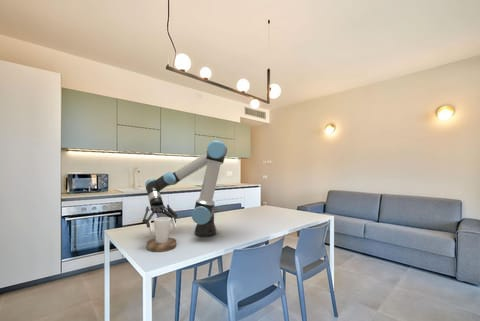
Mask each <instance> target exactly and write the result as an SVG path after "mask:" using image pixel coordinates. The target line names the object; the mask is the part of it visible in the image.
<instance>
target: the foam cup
mask: <svg viewBox="0 0 480 321" xmlns="http://www.w3.org/2000/svg"><path fill="white" fill-rule="evenodd" d="M153 225H154V226H153V227H154V235H155V239H156V243H166V242H167V241H168V238H169V234H170V230H171V225H172V222H171V218H169V217H168V216H160V217H156V218H154V219H153Z"/></svg>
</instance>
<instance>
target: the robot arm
mask: <svg viewBox="0 0 480 321" xmlns="http://www.w3.org/2000/svg"><path fill="white" fill-rule="evenodd" d="M227 154H228V148H227V146H226V145H225V143H224V142H223V141H221V140H217V139H216V140H212V141H211V142H209V143H208V145H207V148H206V152H205V153H203V155H200V156H199V157H197V158H195V159H193V160H192V161H191V162H189V163H186V164H185V165H184V166H182V167H180V168H179V169H177V170H175V171H174V172H171V171H168V172H166V173H164V174H163V175H162V176H159V178H157V179H155V178H151V179H148V180H146V181H145V183H144V184H145V190H146V193H147V197H148V202H149V206H150V207H149V206H148V205H147V206H146V208H145V213H144V216H143V218H142V223H145V224H146V228H148V230H149V233H150V234H152V233H153V231H154V230H153V225H152V221H151V219H152V218H153V216H154V215H155V214H156V215H157V214H163V215H165V217H169V218H171V225H172V228H173V230H176V229H177V224H176V223H177V220H176V219H177V218H178V214H177V213H176V212H175V211H174V210H173V209H172V207H170V205H169V204H167V205H164V201H163V198H162V195H161V192H160V191H162V190H164V189H166V188H167V187H169V186H175V185H178V183H179V182H180V181H182V180H185V179H186V178H187V177H189V176H191V175H192V174H194V173H196V172H198V171H199V170H201V169H203V168H205V167H206V168H205V172H204V176H203V181H202V185H201V190H200V194H199V198H198V199H196V201H195V205H194V208H193V210H191V211H192V212H191V219H192V221H193V222H194V223H195V224H196V226H195V229H194V235H195V236H196V237H201V238H202V237H204V238H205V237H213V236H215V235H216V234H217V228H216V225H215V206H216V205H215V201H213V199H214V194H215V191H216V187H217V181H218V178H219V173H220V168H221V165H223V164H224V162H225V157H226V155H227ZM150 211H151V212H150ZM149 212H150V215H149V216H148V213H149ZM147 216H148V217H147Z"/></svg>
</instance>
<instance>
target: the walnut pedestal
mask: <svg viewBox="0 0 480 321" xmlns="http://www.w3.org/2000/svg"><path fill="white" fill-rule="evenodd" d="M176 247H177V239H175V238H174V237H168V241H167V242H166V243H156V238H152V239H150V240H147V242H146V250H147V251H149V252H152V253H162V252H168V251H172V250H174V249H176Z"/></svg>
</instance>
